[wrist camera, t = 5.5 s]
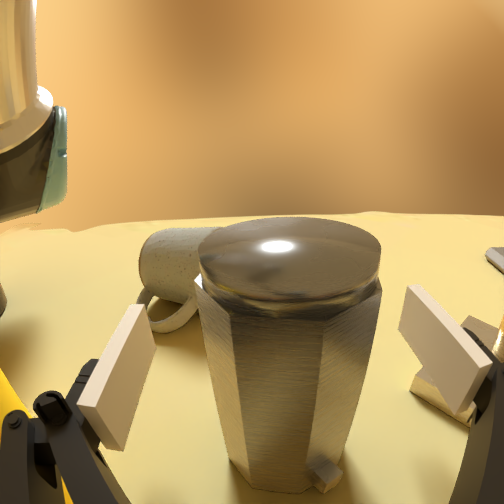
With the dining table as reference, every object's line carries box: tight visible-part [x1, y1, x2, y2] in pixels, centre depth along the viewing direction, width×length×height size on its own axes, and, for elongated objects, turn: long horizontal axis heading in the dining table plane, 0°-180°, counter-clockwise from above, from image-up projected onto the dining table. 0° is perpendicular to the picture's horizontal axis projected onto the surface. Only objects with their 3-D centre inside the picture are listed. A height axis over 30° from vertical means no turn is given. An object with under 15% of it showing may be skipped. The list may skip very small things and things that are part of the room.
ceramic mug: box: [136, 227, 224, 333], centre depth 28 cm, size 11×8×8 cm
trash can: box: [194, 217, 382, 494], centre depth 12 cm, size 8×6×12 cm
